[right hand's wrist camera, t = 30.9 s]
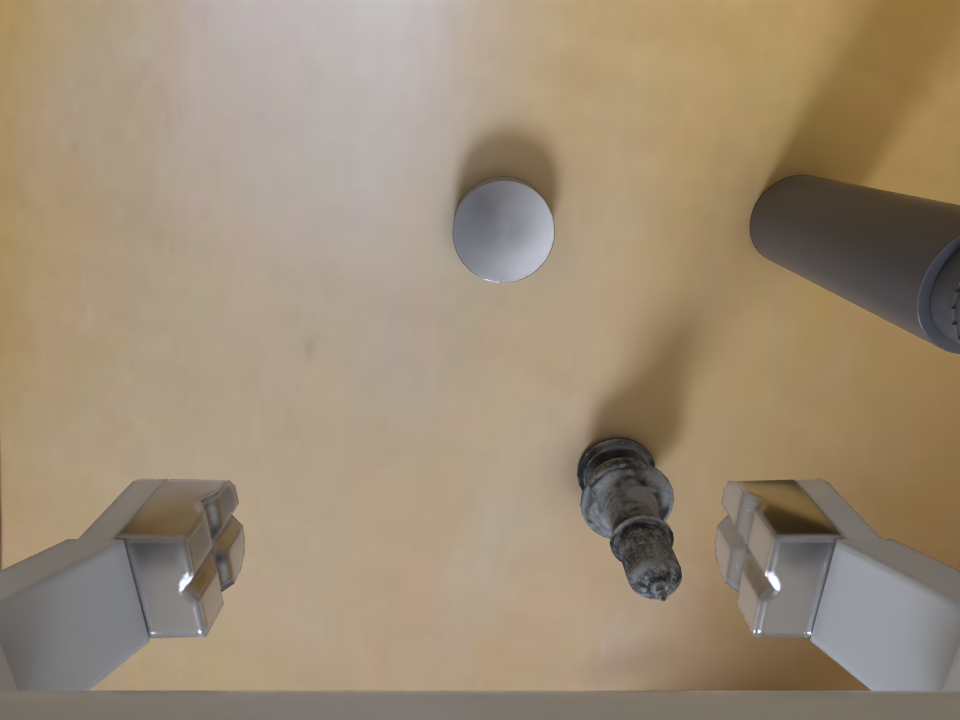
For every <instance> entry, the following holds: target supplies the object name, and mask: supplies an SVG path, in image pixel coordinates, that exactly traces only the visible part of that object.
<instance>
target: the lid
mask: <svg viewBox="0 0 960 720" xmlns="http://www.w3.org/2000/svg"><path fill="white" fill-rule="evenodd" d="M554 235H555V226H554V220H553V216H552V213H551V211H550V208H549V206H548V205H547V203H546V201H545V200H544V199H543V197H542V196H541V195H540V193H539V192H538V191H537V190H536V189H535V188H534V187H532V186H531V185H529V184H528V183H526V182H524V181H522V180H519V179H516V178H512V177H494V178H490V179H487V180H484V181H482V182H480V183H478V184H477V185H475V186H474V187H473V188H471V189H470V190H469V191H468V192H467V193H466V194H465V196H464V197H463V199H462V200H461V202H460V204H459V206H458V208H457V211H456V214H455V218H454V223H453V241H454V246H455V249H456V252H457V254H458V256H459V258H460V259H461V261H462V262H463V264H464V265H465V266H466V267H467V268H468V269H469V270H470V271H471V272H473V273H474V274H475V275H477V276H479V277H481V278H483V279H485V280H488V281H492V282H499V283H508V282H514V281H518V280H521V279H523V278H525V277H527V276H529V275H531V274H532V273H534V272H535V271H536V270H537V269H538V268H539V267H540V266H541V265H542V264H543V263H544V262H545V260H546V259H547V257H548V255H549V253H550V251H551V249H552V246H553V242H554Z"/></svg>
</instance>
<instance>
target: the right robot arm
mask: <svg viewBox="0 0 960 720" xmlns="http://www.w3.org/2000/svg"><path fill="white" fill-rule="evenodd" d="M238 503H239V502H238V497H237V492H236V488H235V485H234V484H233V483H232V482H231V481H230V480H188V479H170V480H168V479H140V480H136V481H133V482H132V483H131V484H130V485H129V486H128V487H127V488H126V489H125V490H124V491H123V492H122V493H121V494H120V495H119V496H118V498H117V499H116V500H115V501H114V502H113V503H112V504H111V505H110V506H109V507H108V508H107V509H106V510H105V511H104V512H103V513H102V514H101V516H100V517H99V518H98V519H97V520H96V521H95V522H94V523H93V524H92V525H91V526H90V527H89V528H88V529H87V530H86V531H85V532H84V533H83V535H82V536H81V537H80V538H79V539H67V540H65V541H63V542H61V543H59V544H57V545H55V546H53V547H50V548H48V549H46V550H44V551H42V552H40V553H38V554H36V555H33V556H31V557H29V558H27V559H25V560H23V561H21V562H19V563H16V564H14V565H12V566H10V567H8V568H6V569H4V570H2V571H0V720H960V571H958V570H956V569H954V568H952V567H950V566H948V565H946V564H943V563H941V562H939V561H937V560H935V559H933V558H931V557H929V556H926V555H924V554H922V553H920V552H918V551H916V550H914V549H912V548H910V547H907V546H905V545H903V544H901V543H899V542H897V541H895V540H893V539H881V538H880V537H879V536H878V535H877V533H876V532H875V531H874V530H873V529H872V528H871V527H870V526H869V525H868V524H867V523H866V522H865V521H864V520H863V519H862V518H861V516H860V515H859V514H858V513H857V512H856V511H855V510H854V509H853V508H852V507H851V506H850V505H849V504H848V503H847V502H846V501H845V500H844V498H843V497H842V496H841V495H840V494H839V493H838V492H837V491H836V490H835V489H834V488H833V487H832V486H831V485H830V484H829V483H828V482H827V481H824V480H822V479H793V480H766V481H728V482H727V484H726V486H725V488H724V491H723V496H722V501H721V503H722V505H723V507H724V508H725V510H726V512H727V513H728V515H727V516H726V517H725V518H724V519H723V520H722V521H721V522H720V523H719V524H718V525H717V531H716V539H715V549H716V560H717V563H718V567H719V570H720V573H721V575H722V577H723V579H724V581H725V583H726V584H728V585H729V586H730V587H732V588H733V589H735V590H736V591H738V592H739V593H738V598H737V606H738V608H739V610H740V612H741V613H742V615H743V617H744V619H745V621H746V623H747V625H748V627H749V629H750V630H751V632H752V634H753V636H754V637H783V638H811V639H810V641H811V642H812V643H813V644H815V645H816V646H817V647H818V648H820V649H821V650H822V651H823V652H824V653H826V654H827V655H828V656H829V657H831V658H832V659H833V660H834V661H836V662H837V663H838V664H839V665H840V666H842V667H843V668H844V669H845V670H847V671H848V672H849V673H850V674H852V675H853V676H854V677H855V678H857V679H858V680H859V681H860V682H861V683H863V684H864V685H865V686H866V687H868V688H869V689H870V690H871V691H89V690H90V689H91V688H93V687H94V686H95V685H96V684H98V683H99V682H100V681H101V680H102V679H104V678H105V677H106V676H107V675H109V674H110V673H111V672H112V671H114V670H115V669H116V668H117V667H119V666H120V665H121V664H122V663H123V662H125V661H126V660H127V659H128V658H130V657H131V656H132V655H133V654H135V653H136V652H137V651H138V650H139V649H141V648H142V647H143V646H144V645H146V644H147V643H148V642H149V641H150V639H149V638H176V637H206V636H207V634H208V632H209V631H210V629H211V627H212V625H213V623H214V621H215V619H216V617H217V615H218V614H219V612H220V610H221V608H222V606H223V598H222V593H221V592H222V591H224V590H225V589H227V588H228V587H230V586H231V585H232V584H234V583H235V581H236V579H237V577H238V575H239V573H240V570H241V567H242V562H243V558H244V553H245V537H244V531H243V525H242V524H241V523H240V522H239V521H238V520H237V519H236V518H235V517H234V516H233V515H232V513H233V512H234V510H235V508H236V507H237V505H238Z"/></svg>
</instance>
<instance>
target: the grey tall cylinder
mask: <svg viewBox="0 0 960 720" xmlns="http://www.w3.org/2000/svg"><path fill="white" fill-rule="evenodd" d="M750 234H751V239H752V242H753V244H754V246H755V248H756V249H757V250H758V252H759V253H760V254H761V255H763V256H764V257H765V258H767V259H769V260H771V261H773V262H775V263H777V264H778V265H780V266H782V267H784V268H786V269H788V270H790V271H792V272H794V273H796V274H798V275H800V276H802V277H804V278H806V279H808V280H809V281H811V282H813V283H815V284H817V285H819V286H821V287H823V288H825V289H827V290H829V291H831V292H833V293H835V294H837V295H839V296H840V297H842V298H844V299H846V300H848V301H850V302H852V303H854V304H856V305H858V306H860V307H862V308H864V309H866V310H868V311H870V312H871V313H873V314H875V315H877V316H879V317H881V318H883V319H885V320H887V321H889V322H891V323H893V324H895V325H897V326H899V327H901V328H902V329H904V330H906V331H908V332H910V333H912V334H914V335H916V336H918V337H920V338H922V339H924V340H926V341H928V342H930V343H932V344H934V345H935V346H937V347H939V348H941V349H943V350H945V351H948V352H951V353H956V354H960V205H955V204H950V203H945V202H940V201H935V200H930V199H925V198H920V197H915V196H910V195H905V194H900V193H894V192H889V191H884V190H879V189H874V188H869V187H864V186H859V185H854V184H849V183H844V182H839V181H834V180H829V179H824V178H819V177H814V176H809V175H796V176H791V177H788V178H785V179H783V180H781V181H779V182H777V183H775V184H774V185H772V186H771V187H770V188H769V189H768V190H767V191H766V192H765V193H764V194H763V195H762V196H761V197H760V199H759V200H758V202H757V203H756V205H755V207H754V209H753V212H752V215H751V220H750Z"/></svg>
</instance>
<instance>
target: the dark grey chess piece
mask: <svg viewBox="0 0 960 720" xmlns="http://www.w3.org/2000/svg"><path fill="white" fill-rule="evenodd" d="M577 476H578V482H579V485H580V487H581V489H582V491H583V493H582V497H581V504H580V505H581V511H582V516H583V517H584V519H585V521H586V523H587V525H588V526H589V527H590V528H591V529H592V530H593V531H594V532H596V533H598V534H600V535H601V536H603V537H606V538H609V539H611V540H610V546H611V550H612V552H613V554H614V556H615V557H616V558H617V559H618V560H619V561H621V562H622V563H623V567H624V570H625V573H626V576H627V579H628V582H629V584H630V586H631V587H632V589H633V590H634V591H635V592H636V593H637V594H639V595H641V596H642V597H645V598H649V599H658V600H661V601H665V600H666V599H667V597H668V596H669V595H671V594H672V593H673V592H674V591H675V590H676V589H677V588H678V586H679V584H680V583H681V579H682V574H681V567H680V565H679V563H678V560H677V558H676V556H675V554H674V551H673V549H672V546H673V541H674V538H673V532H672V530H671V528H670V526H669V525H668V524H667V523H666V522H665V521H666V520H667V518H668V516H669V514H670V512H671V511H672V507H673V502H674V496H673V489H672V487H671V484H670V482H669V480H668V479H667V478H666V476H665V475H664V474H663V473H662V472H661V471H659V470H658V469H656V468H655V466H654V461H653V459H652V457H651V455H650V453H649V452H648V451H647V450H646V449H645V447H643V446H642V445H640V444H639V443H637V442H635V441H631V440H628V439H617V438H616V439H610V440H605V441H603V442H601V443H598V444H596V445H595V446H593V447H592V448H591V449H589V450H588V451H587V452H586V454H585V455H584V456H583V457H582V459H581V461H580V464H579V466H578V473H577Z"/></svg>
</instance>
